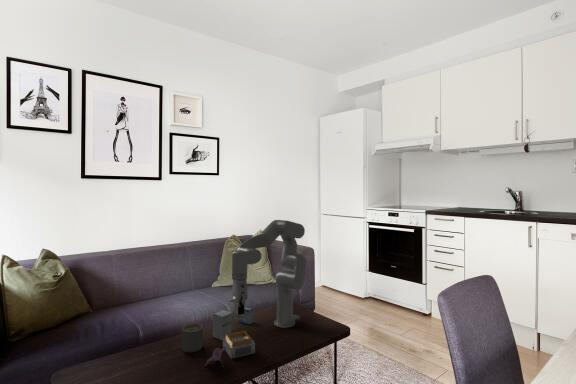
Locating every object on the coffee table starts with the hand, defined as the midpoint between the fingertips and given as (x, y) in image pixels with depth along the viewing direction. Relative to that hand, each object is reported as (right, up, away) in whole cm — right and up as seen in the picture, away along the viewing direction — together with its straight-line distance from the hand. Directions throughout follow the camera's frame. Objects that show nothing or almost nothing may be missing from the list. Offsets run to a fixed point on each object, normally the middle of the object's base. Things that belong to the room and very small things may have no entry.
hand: (239, 311), depth 163 cm
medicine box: (-1, -19, +34) cm, 39 cm away
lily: (-8, -19, -15) cm, 26 cm away
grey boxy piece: (0, -19, 0) cm, 19 cm away
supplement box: (-11, -19, +15) cm, 27 cm away
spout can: (-1, -2, 0) cm, 3 cm away
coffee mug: (-24, -19, +3) cm, 31 cm away
